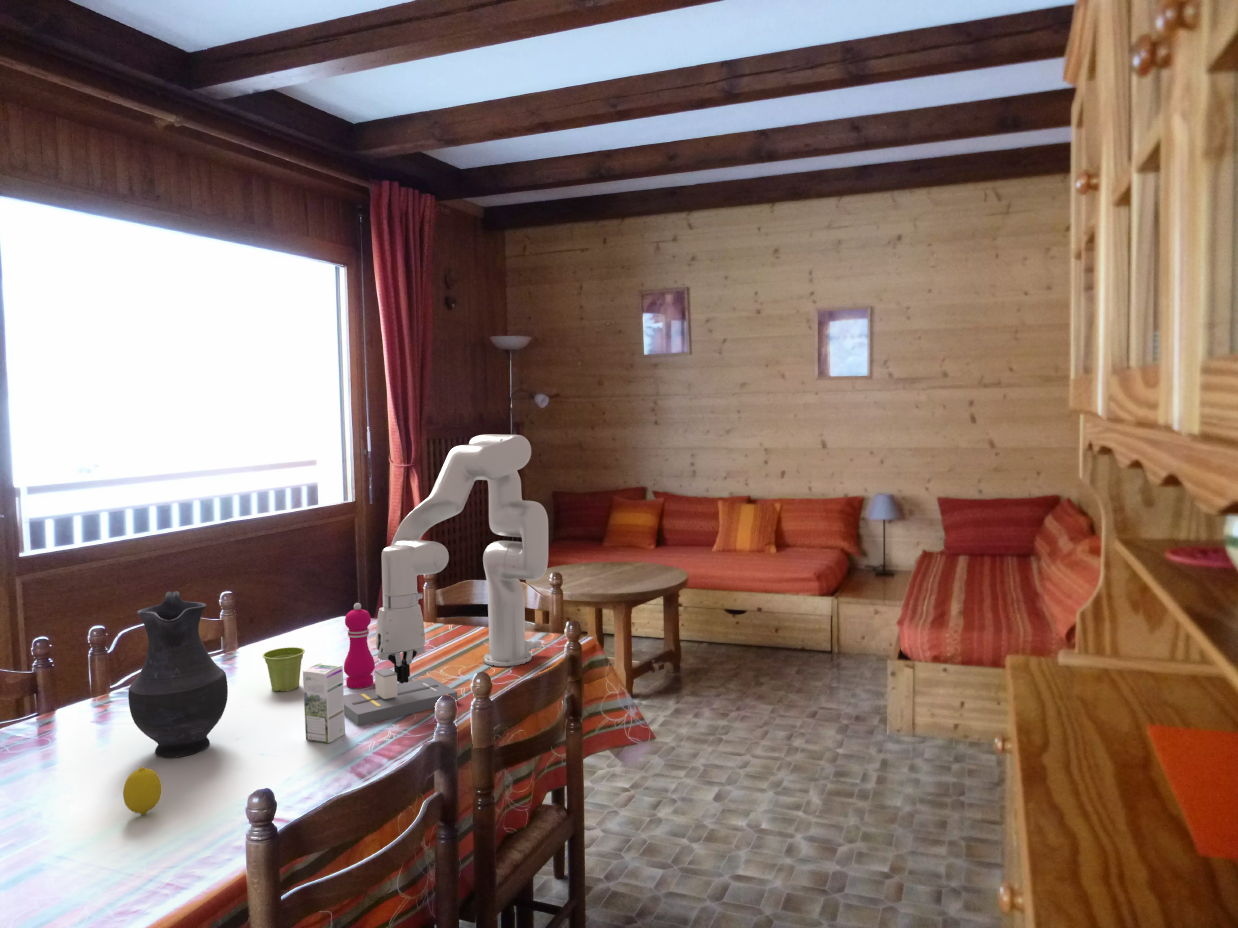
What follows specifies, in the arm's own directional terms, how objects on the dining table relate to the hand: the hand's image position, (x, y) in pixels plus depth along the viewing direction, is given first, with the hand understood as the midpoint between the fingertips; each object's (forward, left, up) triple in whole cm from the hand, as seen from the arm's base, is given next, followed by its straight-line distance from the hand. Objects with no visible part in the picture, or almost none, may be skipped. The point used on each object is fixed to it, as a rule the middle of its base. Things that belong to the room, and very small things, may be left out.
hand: (402, 681), depth 195 cm
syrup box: (+20, +9, -6) cm, 23 cm away
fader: (+4, 0, -2) cm, 4 cm away
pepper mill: (+2, -20, -6) cm, 21 cm away
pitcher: (+44, -5, -6) cm, 45 cm away
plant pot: (+17, -29, -6) cm, 34 cm away
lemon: (+55, +24, -6) cm, 61 cm away
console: (+1, 0, -5) cm, 5 cm away
